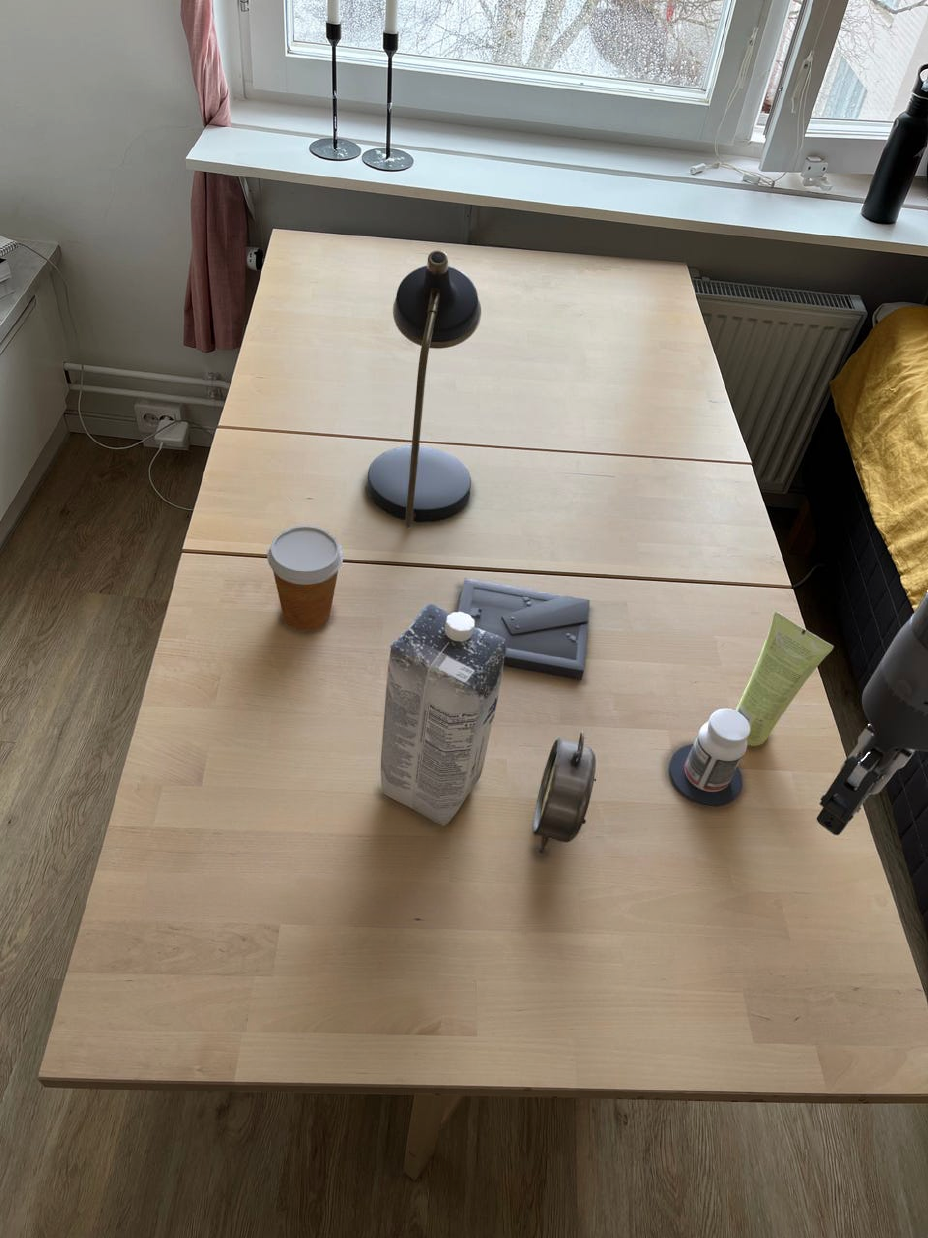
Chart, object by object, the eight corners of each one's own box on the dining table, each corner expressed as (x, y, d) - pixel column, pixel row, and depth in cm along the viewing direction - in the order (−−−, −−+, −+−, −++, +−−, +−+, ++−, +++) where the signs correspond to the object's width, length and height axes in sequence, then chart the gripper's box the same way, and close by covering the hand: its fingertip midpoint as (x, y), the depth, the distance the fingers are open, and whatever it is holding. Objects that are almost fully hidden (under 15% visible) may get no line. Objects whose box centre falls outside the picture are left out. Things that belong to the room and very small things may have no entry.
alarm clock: (540, 778, 116) (564, 692, 104) (584, 789, 115) (614, 704, 103) (525, 857, 108) (550, 774, 96) (573, 869, 108) (603, 787, 96)
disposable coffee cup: (256, 622, 128) (251, 556, 119) (295, 579, 134) (293, 513, 126) (318, 650, 126) (318, 584, 117) (355, 605, 132) (357, 539, 123)
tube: (766, 717, 126) (822, 613, 112) (775, 748, 123) (834, 646, 108) (724, 715, 125) (775, 610, 111) (732, 746, 122) (786, 643, 108)
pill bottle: (734, 766, 119) (760, 717, 112) (723, 801, 116) (749, 752, 108) (690, 748, 121) (713, 698, 113) (677, 781, 117) (700, 732, 110)
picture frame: (587, 609, 136) (463, 587, 137) (590, 598, 135) (464, 576, 135) (581, 680, 127) (448, 656, 127) (584, 669, 125) (450, 645, 126)
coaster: (755, 778, 119) (756, 776, 119) (714, 820, 114) (715, 818, 114) (696, 733, 123) (697, 731, 123) (654, 772, 118) (655, 770, 118)
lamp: (475, 461, 157) (508, 230, 130) (461, 549, 142) (495, 309, 114) (377, 446, 157) (389, 211, 130) (352, 533, 142) (360, 288, 114)
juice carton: (448, 839, 109) (476, 686, 89) (369, 795, 111) (379, 637, 92) (485, 783, 114) (519, 628, 95) (410, 743, 117) (427, 584, 98)
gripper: (937, 757, 68) (850, 876, 79) (1017, 660, 75) (927, 781, 87) (843, 694, 71) (773, 817, 83) (929, 608, 79) (854, 731, 90)
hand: (852, 798), depth 85 cm, fingers open, 8 cm apart
